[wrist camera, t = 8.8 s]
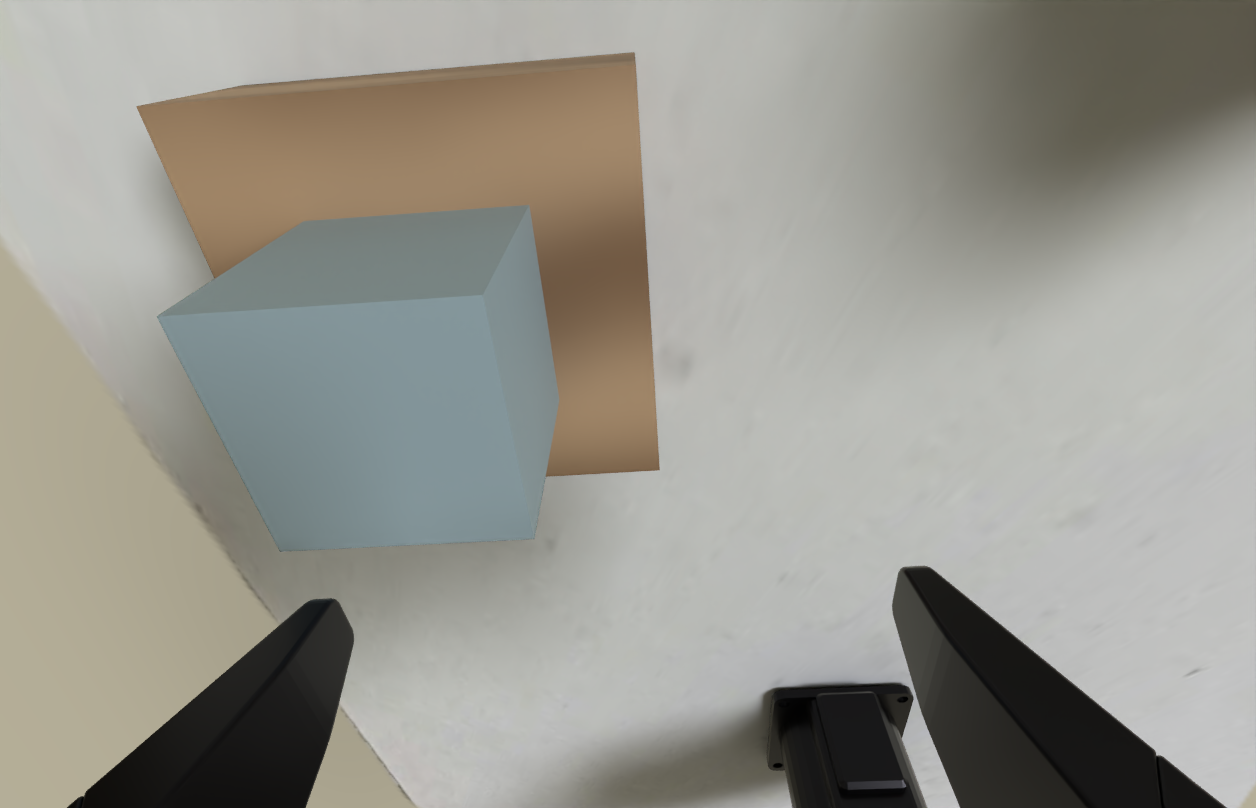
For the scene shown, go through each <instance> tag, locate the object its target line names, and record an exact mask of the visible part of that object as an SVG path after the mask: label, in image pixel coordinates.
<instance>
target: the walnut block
mask: <svg viewBox="0 0 1256 808" xmlns="http://www.w3.org/2000/svg"><path fill="white" fill-rule="evenodd" d="M136 107H137V109H138V111H139V113H140V116H141V118H142V120H143V122H144V124H145V127H146V129H147V131H148V133H149V135H150V137H151V140H152V142H153V144H154V146H155V148H156V151H157V153H158V155H159V157H160V159H161V162H162V164H163V166H164V168H165V170H166V173H167V175H168V177H169V179H170V181H171V184H172V186H173V188H174V190H175V192H176V195H177V197H178V199H179V201H180V203H181V205H182V208H183V210H184V212H185V214H186V216H187V219H188V221H189V223H190V225H191V227H192V230H193V232H194V234H195V236H196V238H197V241H198V243H199V245H200V247H201V249H202V252H203V254H204V256H205V258H206V260H207V263H208V265H209V267H210V269H211V271H212V273H213V276H214V278H217V277H218V276H220V275H221V274H223V273H225V272H226V271H228V270H229V269H231V268H232V267H234V266H235V265H237V264H238V263H240V262H242V261H243V260H245V259H246V258H248V257H249V256H251V255H252V254H254V253H255V252H257V251H258V250H260V249H262V248H263V247H265V246H266V245H268V244H269V243H271V242H272V241H274V240H275V239H277V238H279V237H280V236H282V235H283V234H285V233H286V232H288V231H289V230H291V229H292V228H294V227H295V226H297V225H299V224H300V223H302V222H303V221H313V220H326V219H340V218H354V217H368V216H382V215H396V214H410V213H424V212H438V211H452V210H466V209H480V208H493V207H507V206H521V205H529V206H530V213H531V219H532V226H533V232H534V239H535V245H536V252H537V258H538V265H539V271H540V277H541V284H542V290H543V297H544V303H545V310H546V316H547V323H548V329H549V336H550V342H551V349H552V355H553V362H554V368H555V374H556V381H557V387H558V394H559V405H558V411H557V416H556V422H555V427H554V433H553V438H552V444H551V449H550V455H549V460H548V466H547V471H546V476H564V475H582V474H600V473H618V472H636V471H654V470H659V453H658V436H657V419H656V402H655V385H654V369H653V352H652V335H651V318H650V301H649V284H648V267H647V250H646V233H645V216H644V199H643V182H642V165H641V148H640V131H639V114H638V97H637V80H636V64H635V53H634V52H633V53H622V54H610V55H598V56H586V57H574V58H562V59H551V60H539V61H527V62H515V63H503V64H491V65H480V66H468V67H456V68H444V69H432V70H420V71H409V72H397V73H385V74H373V75H361V76H349V77H338V78H326V79H314V80H302V81H290V82H279V83H267V84H255V85H243V86H238V87H232V88H227V89H222V90H217V91H212V92H207V93H202V94H197V95H192V96H187V97H182V98H176V99H171V100H166V101H161V102H156V103H151V104H146V105H141V106H136Z"/></svg>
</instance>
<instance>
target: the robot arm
mask: <svg viewBox="0 0 1256 808" xmlns="http://www.w3.org/2000/svg"><path fill="white" fill-rule="evenodd" d="M892 609H893V616H894V620H895V623H896V627H897V630H898V634H899V637H900V641H901V644H902V647H903V651H904V654H905V658H906V661H907V665H908V668H909V672H910V675H911V678H912V682H913V685H914V689H915V692H916V696H917V699H918V702H919V705H920V709H921V712H922V715H923V717H924V720H925V723H926V725H927V728H928V730H929V733H930V735H931V738H932V740H933V743H934V745H935V747H936V750H937V752H938V755H939V757H940V760H941V762H942V764H943V767H944V769H945V772H946V774H947V777H948V779H949V782H950V784H951V786H952V789H953V791H954V794H955V796H956V799H957V801H958V803H959V806H960V808H1226V807H1225V806H1224V805H1223V804H1221V803H1220V802H1219V801H1218V800H1216V799H1215V798H1214V797H1213V796H1211V795H1210V794H1209V793H1207V792H1206V791H1205V790H1204V789H1202V788H1201V787H1200V786H1199V785H1197V784H1196V783H1195V782H1193V781H1192V780H1191V779H1190V778H1189V777H1187V776H1186V775H1185V774H1184V773H1182V772H1181V771H1180V770H1179V769H1178V768H1176V767H1175V766H1174V765H1173V764H1171V763H1170V762H1169V761H1168V760H1166V759H1165V758H1164V757H1163V756H1160V755H1158V756H1156V752H1155V750H1154V749H1153V748H1151V747H1150V746H1149V745H1148V744H1147V743H1145V742H1144V741H1143V740H1142V739H1140V738H1139V737H1138V736H1137V735H1135V734H1134V733H1133V732H1132V731H1131V730H1129V729H1128V728H1127V727H1126V726H1124V725H1123V724H1122V723H1121V722H1120V721H1118V720H1117V719H1116V718H1115V717H1113V716H1112V715H1111V714H1110V713H1109V712H1107V711H1106V710H1105V709H1104V708H1102V707H1101V706H1100V705H1099V704H1097V703H1096V702H1095V701H1094V700H1093V699H1091V698H1090V697H1089V696H1088V695H1086V694H1085V693H1084V692H1083V691H1082V690H1080V689H1079V688H1078V687H1077V686H1075V685H1074V684H1073V683H1072V682H1071V681H1069V680H1068V679H1067V678H1066V677H1064V676H1063V675H1062V674H1061V673H1059V672H1058V671H1057V670H1056V669H1055V668H1053V667H1052V666H1051V665H1050V664H1048V663H1047V662H1046V661H1045V660H1044V659H1042V658H1041V657H1040V656H1039V655H1037V654H1036V653H1035V652H1034V651H1033V650H1031V649H1030V648H1029V647H1028V646H1026V645H1025V644H1024V643H1023V642H1021V641H1020V640H1019V639H1018V638H1017V637H1015V636H1014V635H1013V634H1012V633H1010V632H1009V631H1008V630H1007V629H1006V628H1004V627H1003V626H1002V625H1001V624H999V623H998V622H997V621H996V620H994V619H993V618H992V617H991V616H990V615H988V614H987V613H986V612H985V611H983V610H982V609H981V608H980V607H979V606H977V605H976V604H975V603H974V602H972V601H971V600H970V599H969V598H968V597H966V596H965V595H964V594H963V593H961V592H960V591H959V590H958V589H956V588H955V587H954V586H953V585H952V584H950V583H949V582H948V581H947V580H945V579H944V578H943V577H942V576H941V575H939V574H938V573H937V572H936V571H934V570H933V569H932V568H930V567H927V566H911V567H903V568H901V569H900V571H899V573H898V577H897V582H896V587H895V592H894V597H893V603H892ZM353 644H354V634H353V630H352V627H351V625H350V623H349V621H348V619H347V617H346V615H345V613H344V611H343V609H342V607H341V605H340V603H339V602H338V601H337V600H335V599H332V598H330V599H314V600H310V601H308V602H307V603H305V604H304V605H303V606H302V607H300V608H299V609H298V610H297V611H296V612H295V613H293V614H292V615H291V616H290V617H289V618H288V619H286V620H285V621H284V622H283V623H282V624H281V625H279V626H278V627H277V628H276V629H275V630H274V631H273V632H271V633H270V634H269V635H268V636H267V637H265V638H264V639H263V640H262V641H261V642H260V643H258V644H257V645H256V646H255V647H254V648H253V649H251V650H250V651H249V652H248V653H247V654H246V655H244V656H243V657H242V658H241V659H240V660H239V661H237V662H236V663H235V664H234V665H233V666H232V667H231V668H229V669H228V670H227V671H226V672H225V673H223V674H222V675H221V676H220V677H219V678H218V679H216V680H215V681H214V682H213V683H212V684H211V685H209V686H208V687H207V688H206V689H205V690H204V691H203V692H201V693H200V694H199V695H198V696H197V697H196V698H195V699H193V700H192V701H191V702H190V703H188V704H187V705H186V706H185V707H184V708H183V709H182V710H180V711H179V712H178V713H177V714H176V715H175V716H173V717H172V718H171V719H170V720H169V721H168V722H166V723H165V724H164V725H163V726H162V727H160V728H159V729H158V730H157V731H156V732H155V733H153V734H152V735H151V736H150V737H149V738H148V739H147V740H145V741H144V742H143V743H142V744H141V745H139V746H138V747H137V748H136V749H135V750H134V751H133V752H131V753H130V754H129V755H128V756H127V757H126V758H124V759H123V760H122V761H121V762H120V763H119V764H117V765H116V766H115V767H114V768H113V769H112V770H110V771H109V772H108V773H107V774H106V775H105V776H103V777H102V778H101V779H100V780H99V781H98V782H96V783H95V784H94V785H93V786H92V787H91V788H90V789H88V790H87V791H86V793H85V795H84V797H83V796H81V797H79V798H77V799H76V800H75V801H74V802H73V803H72V804H70V805H69V806H68V807H67V808H306V805H307V802H308V799H309V797H310V794H311V791H312V788H313V785H314V782H315V780H316V777H317V774H318V771H319V769H320V765H321V763H322V760H323V757H324V754H325V751H326V748H327V745H328V742H329V739H330V736H331V732H332V729H333V725H334V721H335V717H336V713H337V709H338V705H339V701H340V697H341V693H342V689H343V685H344V681H345V677H346V673H347V669H348V665H349V661H350V657H351V653H352V649H353ZM912 702H913V695H912V692H911V690H910V688H909V687H907V686H902V685H900V686H875V687H850V688H826V689H801V690H781V691H778V692H775V693H774V694H773V696H772V704H771V715H770V727H769V738H768V749H767V762H768V767H769V768H770V769H771V770H777V771H778V770H785V773H786V778H787V782H788V787H789V792H790V797H791V802H792V807H793V808H927V806H926V803H925V800H924V798H923V795H922V792H921V790H920V787H919V784H918V781H917V779H916V776H915V773H914V771H913V768H912V765H911V763H910V760H909V757H908V755H907V752H906V749H905V747H904V744H903V741H902V736H903V732H904V729H905V726H906V722H907V719H908V716H909V712H910V709H911V706H912Z"/></svg>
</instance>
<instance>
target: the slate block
mask: <svg viewBox="0 0 1256 808" xmlns="http://www.w3.org/2000/svg"><path fill="white" fill-rule="evenodd" d="M157 318H158V320H159V322H160V324H161V326H162V328H163V330H164V332H165V333H166V335H167V337H168V339H169V341H170V343H171V345H172V347H173V349H174V351H175V352H176V354H177V356H178V358H179V360H180V362H181V364H182V366H183V368H184V370H185V372H186V373H187V375H188V377H189V379H190V381H191V383H192V385H193V387H194V389H195V391H196V393H197V394H198V396H199V398H200V400H201V402H202V404H203V406H204V408H205V410H206V412H207V413H208V415H209V417H210V419H211V421H212V423H213V425H214V427H215V429H216V431H217V433H218V434H219V436H220V438H221V440H222V442H223V444H224V446H225V448H226V450H227V452H228V454H229V455H230V457H231V459H232V461H233V463H234V465H235V467H236V469H237V471H238V473H239V474H240V476H241V478H242V480H243V482H244V484H245V486H246V488H247V490H248V492H249V494H250V495H251V497H252V499H253V501H254V503H255V505H256V507H257V509H258V511H259V513H260V514H261V516H262V518H263V520H264V522H265V524H266V526H267V528H268V530H269V532H270V534H271V535H272V537H273V539H274V541H275V543H276V545H277V547H278V549H279V551H280V552H283V551H303V550H323V549H343V548H364V547H384V546H404V545H424V544H444V543H464V542H485V541H505V540H525V539H534V538H535V532H536V527H537V521H538V515H539V510H540V504H541V499H542V493H543V488H544V482H545V477H546V471H547V466H548V460H549V455H550V449H551V444H552V438H553V433H554V427H555V422H556V416H557V411H558V405H559V394H558V387H557V381H556V374H555V368H554V362H553V355H552V349H551V342H550V336H549V329H548V323H547V316H546V310H545V303H544V297H543V290H542V284H541V277H540V271H539V265H538V258H537V252H536V245H535V239H534V232H533V226H532V219H531V213H530V206H529V205H521V206H507V207H493V208H480V209H466V210H452V211H438V212H424V213H410V214H396V215H382V216H368V217H354V218H340V219H326V220H313V221H303V222H302V223H300V224H299V225H297V226H295V227H294V228H292V229H291V230H289V231H288V232H286V233H285V234H283V235H282V236H280V237H279V238H277V239H275V240H274V241H272V242H271V243H269V244H268V245H266V246H265V247H263V248H262V249H260V250H258V251H257V252H255V253H254V254H252V255H251V256H249V257H248V258H246V259H245V260H243V261H242V262H240V263H238V264H237V265H235V266H234V267H232V268H231V269H229V270H228V271H226V272H225V273H223V274H221V275H220V276H218V277H217V278H215V279H214V280H212V281H211V282H209V283H208V284H206V285H205V286H203V287H201V288H200V289H198V290H197V291H195V292H194V293H192V294H191V295H189V296H188V297H186V298H184V299H183V300H181V301H180V302H178V303H177V304H175V305H174V306H172V307H171V308H169V309H168V310H166V311H164V312H163V313H161V314H160V315H158V316H157Z"/></svg>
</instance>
